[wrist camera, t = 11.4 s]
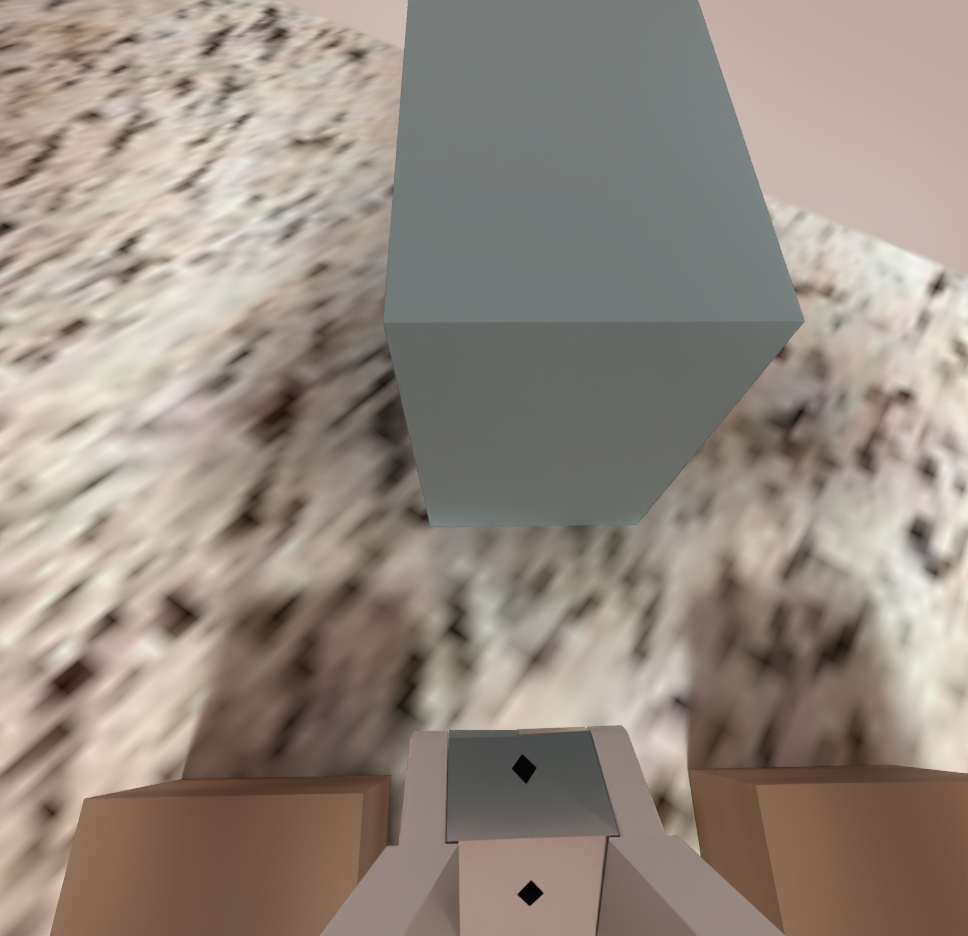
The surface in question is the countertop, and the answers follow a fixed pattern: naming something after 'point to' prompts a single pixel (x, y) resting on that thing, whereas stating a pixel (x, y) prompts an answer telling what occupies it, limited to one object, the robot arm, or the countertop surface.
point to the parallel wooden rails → (364, 831)
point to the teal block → (571, 257)
